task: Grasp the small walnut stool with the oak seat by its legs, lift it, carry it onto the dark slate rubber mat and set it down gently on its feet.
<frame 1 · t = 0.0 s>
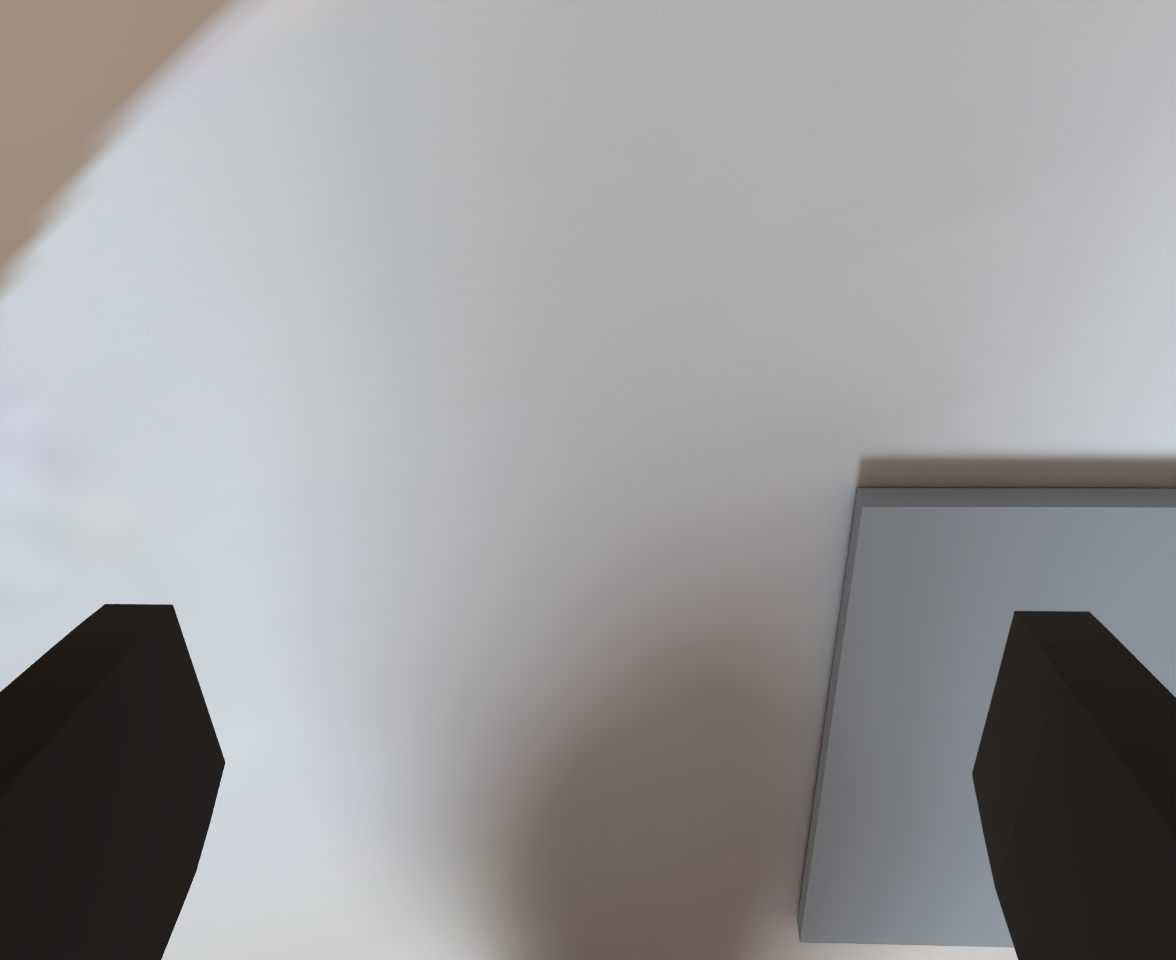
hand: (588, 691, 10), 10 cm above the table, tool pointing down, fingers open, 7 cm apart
slate mat: (1071, 743, 24), on the table
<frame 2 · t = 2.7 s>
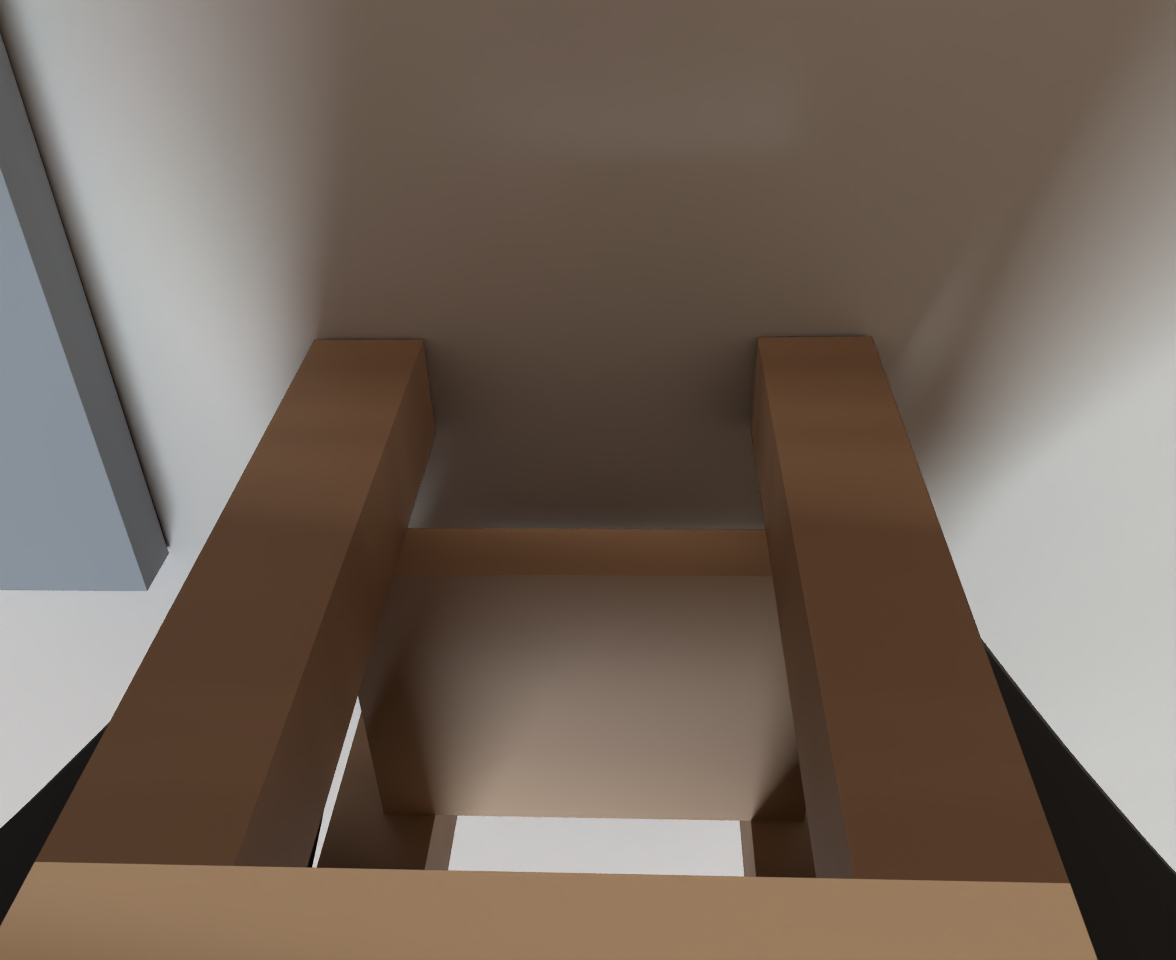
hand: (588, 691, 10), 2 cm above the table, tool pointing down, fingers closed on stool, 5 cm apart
stool: (596, 555, 11), on the table, touching gripper
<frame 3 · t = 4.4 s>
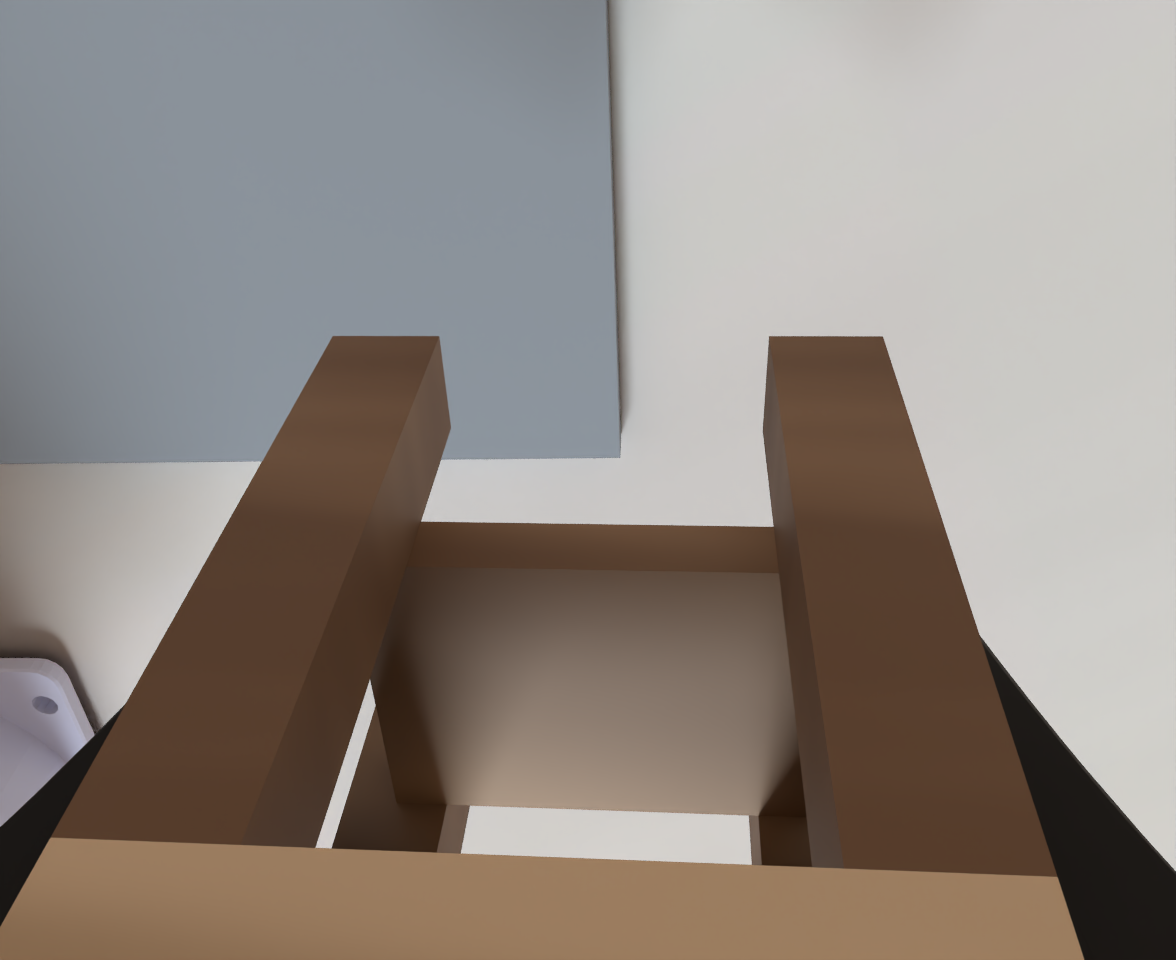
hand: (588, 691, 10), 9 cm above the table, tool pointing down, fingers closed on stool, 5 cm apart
stool: (609, 551, 11), point 7 cm above the table, touching gripper
slate mat: (207, 15, 15), on the table
when the fingers open (4 cm above the table, at t = 6.3 s): stool stays where it is, resting on slate mat.
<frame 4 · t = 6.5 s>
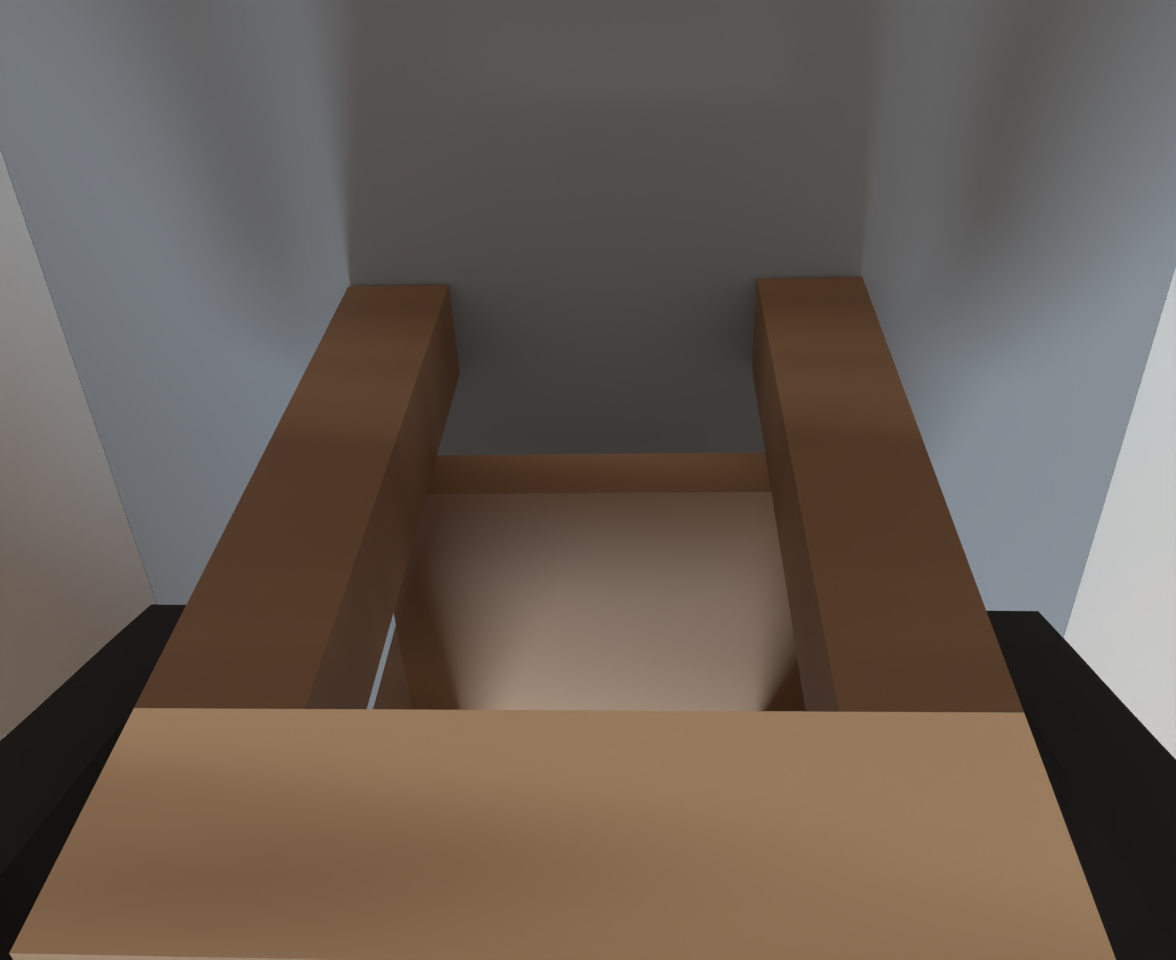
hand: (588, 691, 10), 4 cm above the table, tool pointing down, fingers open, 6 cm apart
stool: (609, 489, 12), point 1 cm above the table, touching slate mat
slate mat: (602, 462, 13), on the table
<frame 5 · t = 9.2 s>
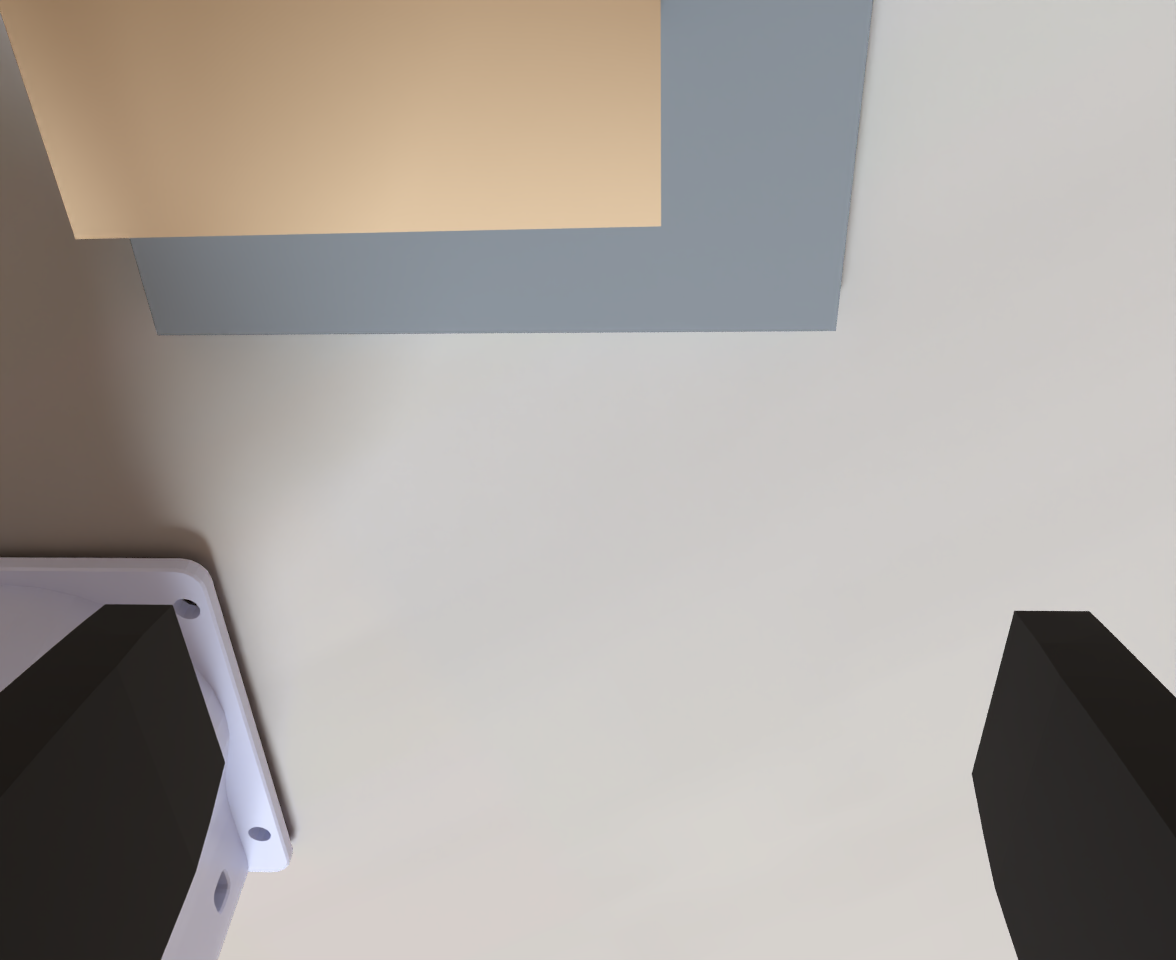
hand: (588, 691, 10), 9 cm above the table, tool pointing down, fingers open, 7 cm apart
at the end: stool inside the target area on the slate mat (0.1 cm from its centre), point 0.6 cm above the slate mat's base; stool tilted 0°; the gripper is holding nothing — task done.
